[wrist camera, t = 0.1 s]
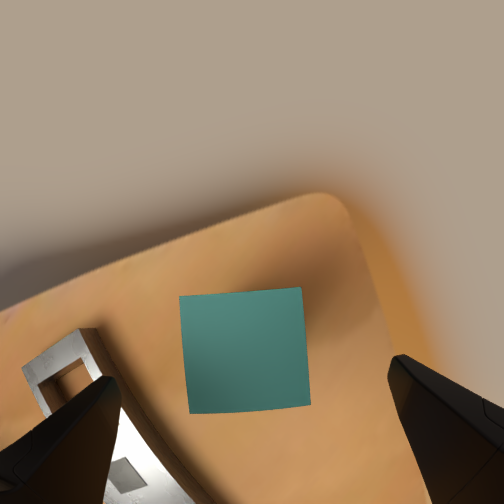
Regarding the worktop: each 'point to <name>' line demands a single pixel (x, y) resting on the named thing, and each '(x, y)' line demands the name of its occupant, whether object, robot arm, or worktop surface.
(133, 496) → the grey peg board
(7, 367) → the worktop surface
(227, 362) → the teal peg
